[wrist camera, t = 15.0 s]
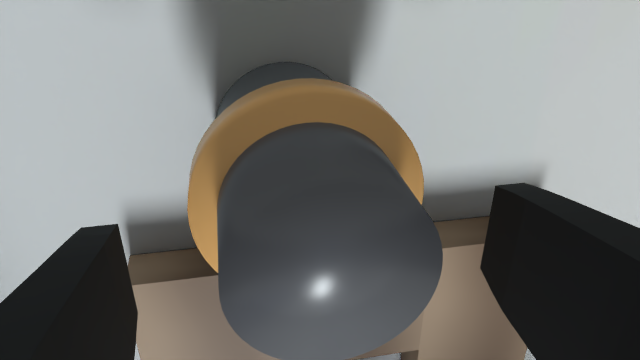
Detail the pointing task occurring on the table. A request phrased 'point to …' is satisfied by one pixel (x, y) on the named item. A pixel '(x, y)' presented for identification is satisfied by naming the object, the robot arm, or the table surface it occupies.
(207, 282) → the socket block
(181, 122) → the table surface
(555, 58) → the table surface
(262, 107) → the plug
